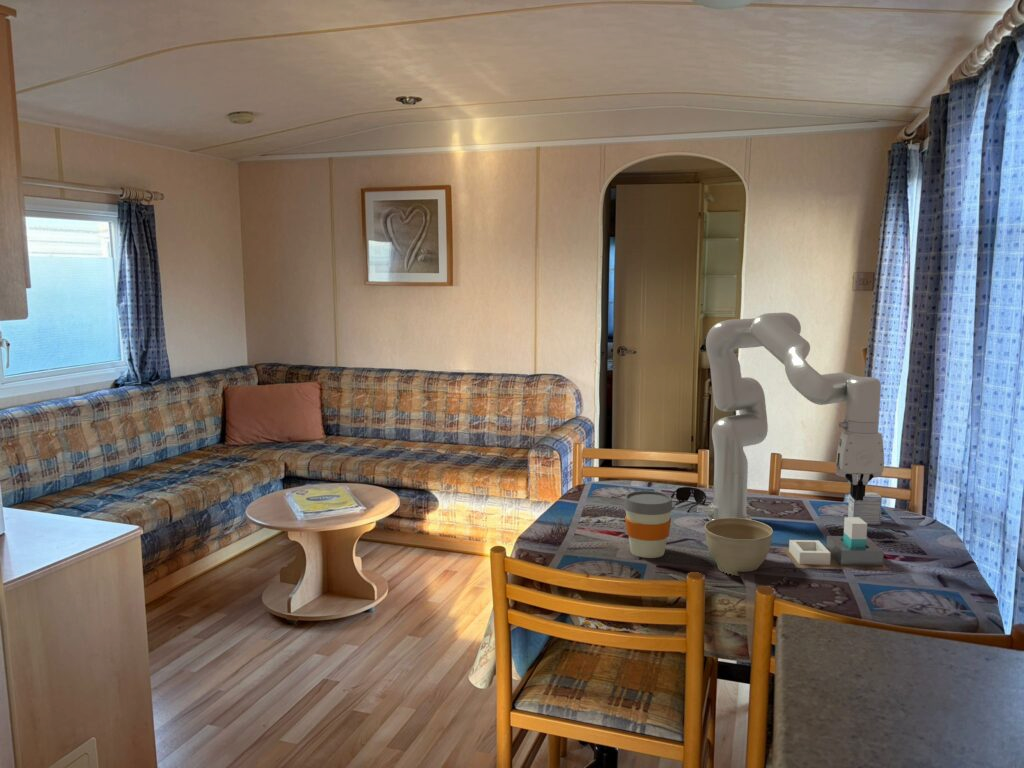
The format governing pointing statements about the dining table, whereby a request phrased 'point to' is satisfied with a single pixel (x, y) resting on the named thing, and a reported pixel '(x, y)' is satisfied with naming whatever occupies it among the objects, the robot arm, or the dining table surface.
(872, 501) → the medicine box
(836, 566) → the panel board
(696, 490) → the sunglasses
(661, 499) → the reusable coffee cup
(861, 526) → the plug
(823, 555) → the white rectangular frame
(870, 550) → the port block
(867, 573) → the dining table surface
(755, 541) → the planter bowl
